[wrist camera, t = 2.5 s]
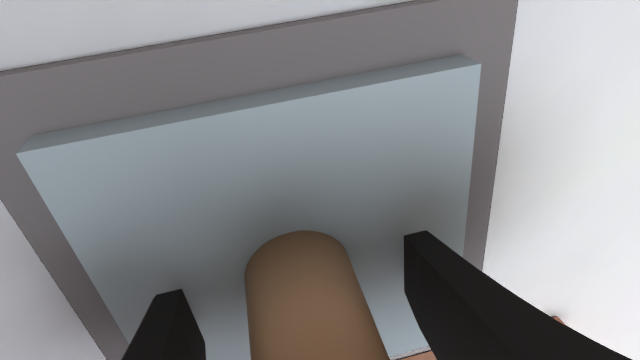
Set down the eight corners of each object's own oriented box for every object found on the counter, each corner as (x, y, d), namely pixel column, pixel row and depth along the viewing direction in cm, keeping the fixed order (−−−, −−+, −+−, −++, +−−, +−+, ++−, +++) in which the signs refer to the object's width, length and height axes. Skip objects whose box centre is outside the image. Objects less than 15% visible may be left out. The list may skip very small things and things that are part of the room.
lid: (174, 392, 14) (154, 610, 9) (31, 135, 8) (-164, 355, 4) (444, 320, 15) (539, 485, 10) (462, 53, 10) (667, 160, 5)
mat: (150, 411, 14) (148, 422, 14) (-61, 82, 8) (-73, 89, 8) (468, 325, 16) (473, 333, 15) (509, -16, 9) (519, -14, 9)
